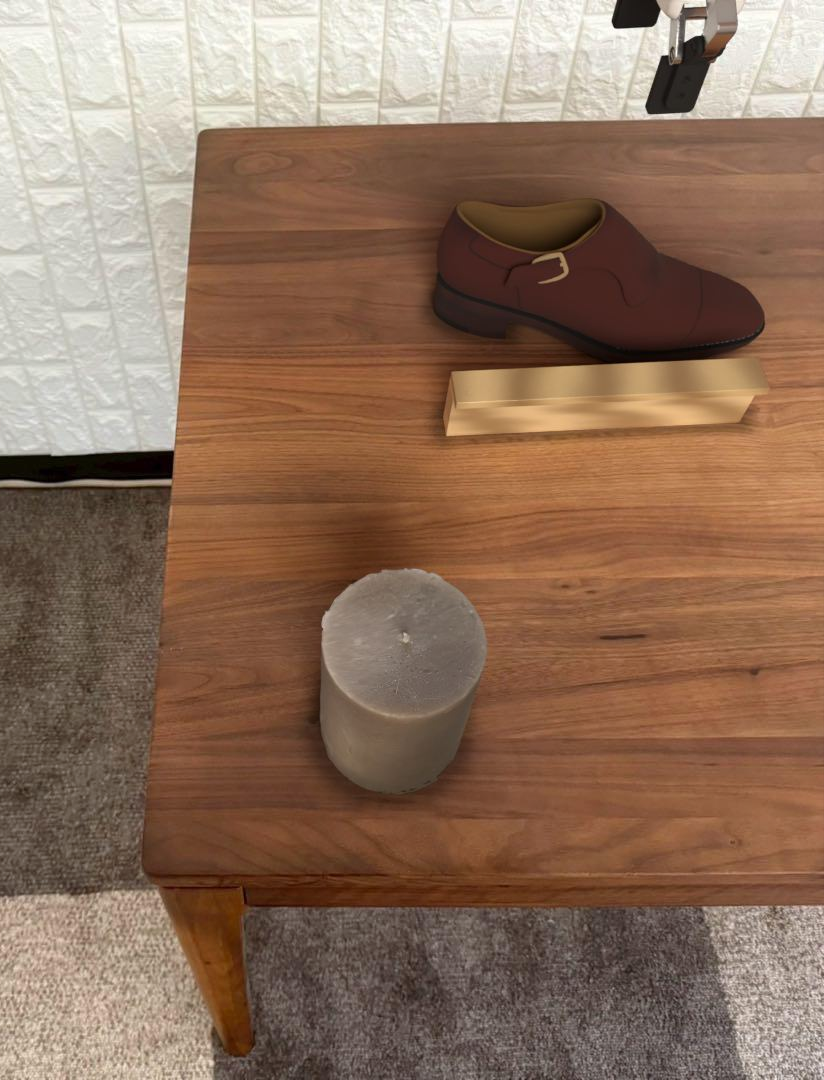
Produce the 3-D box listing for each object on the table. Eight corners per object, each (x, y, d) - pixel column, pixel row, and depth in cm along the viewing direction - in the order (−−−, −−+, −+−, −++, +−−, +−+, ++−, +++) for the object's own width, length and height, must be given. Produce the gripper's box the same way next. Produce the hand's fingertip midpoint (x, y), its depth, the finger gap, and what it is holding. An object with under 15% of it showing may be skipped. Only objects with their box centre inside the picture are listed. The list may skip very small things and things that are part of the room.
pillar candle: (452, 806, 67) (486, 724, 54) (307, 781, 68) (306, 694, 55) (466, 672, 72) (499, 568, 59) (330, 651, 73) (334, 543, 60)
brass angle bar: (732, 403, 84) (758, 356, 79) (743, 434, 82) (770, 388, 77) (442, 417, 84) (451, 371, 79) (447, 448, 82) (456, 403, 77)
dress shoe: (757, 383, 85) (817, 281, 75) (423, 344, 88) (438, 241, 78) (751, 303, 89) (806, 197, 80) (434, 269, 93) (449, 163, 83)
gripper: (862, -141, 52) (739, 144, 67) (758, -286, 61) (670, -7, 76) (717, -134, 52) (626, 150, 66) (635, -280, 61) (570, -1, 75)
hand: (649, 66), depth 71 cm, fingers open, 9 cm apart
